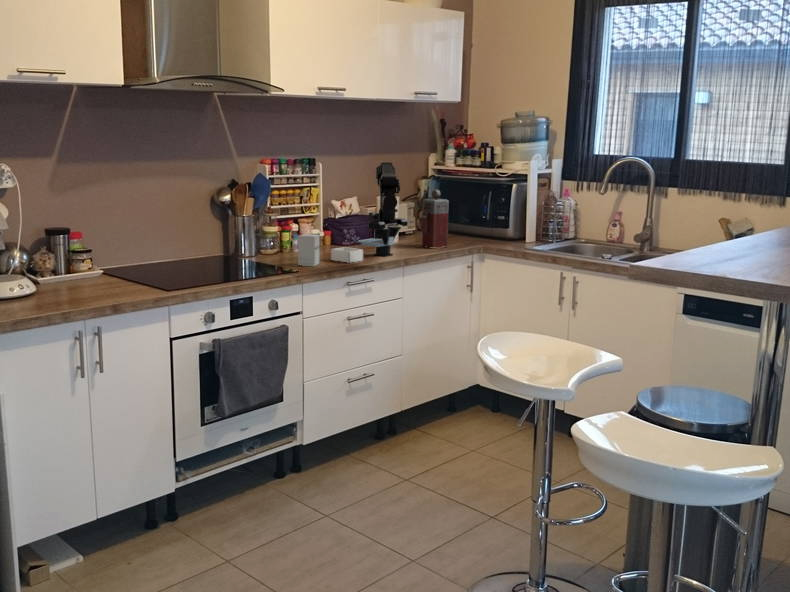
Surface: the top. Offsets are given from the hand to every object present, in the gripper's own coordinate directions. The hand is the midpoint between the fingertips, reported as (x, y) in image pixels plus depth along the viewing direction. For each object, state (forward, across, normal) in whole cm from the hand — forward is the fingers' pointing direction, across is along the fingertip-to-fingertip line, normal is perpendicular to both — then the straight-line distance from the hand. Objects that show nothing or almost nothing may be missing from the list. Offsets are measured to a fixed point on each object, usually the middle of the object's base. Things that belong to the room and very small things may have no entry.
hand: (388, 244), depth 331 cm
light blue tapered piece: (+1, 0, -5) cm, 6 cm away
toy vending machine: (+10, -59, -21) cm, 64 cm away
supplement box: (+10, +19, -27) cm, 35 cm away
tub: (+10, 0, -23) cm, 25 cm away
